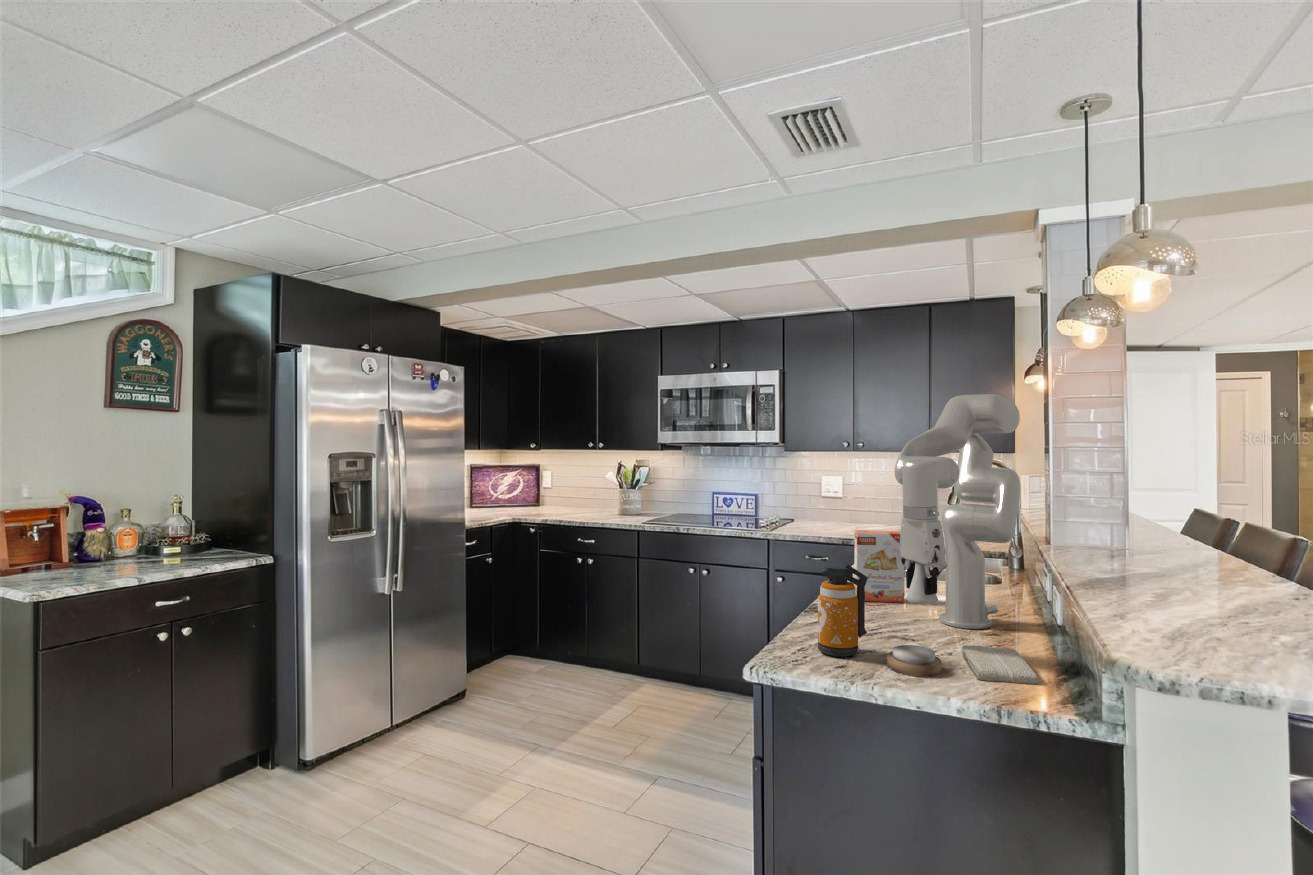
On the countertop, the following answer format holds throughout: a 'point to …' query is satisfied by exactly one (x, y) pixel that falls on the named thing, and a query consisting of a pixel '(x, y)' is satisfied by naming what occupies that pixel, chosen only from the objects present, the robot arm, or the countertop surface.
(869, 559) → the cracker box
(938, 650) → the countertop surface
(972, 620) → the robot arm
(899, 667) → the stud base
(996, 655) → the washcloth
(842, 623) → the canister
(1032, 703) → the countertop surface
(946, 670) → the countertop surface
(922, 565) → the flask
